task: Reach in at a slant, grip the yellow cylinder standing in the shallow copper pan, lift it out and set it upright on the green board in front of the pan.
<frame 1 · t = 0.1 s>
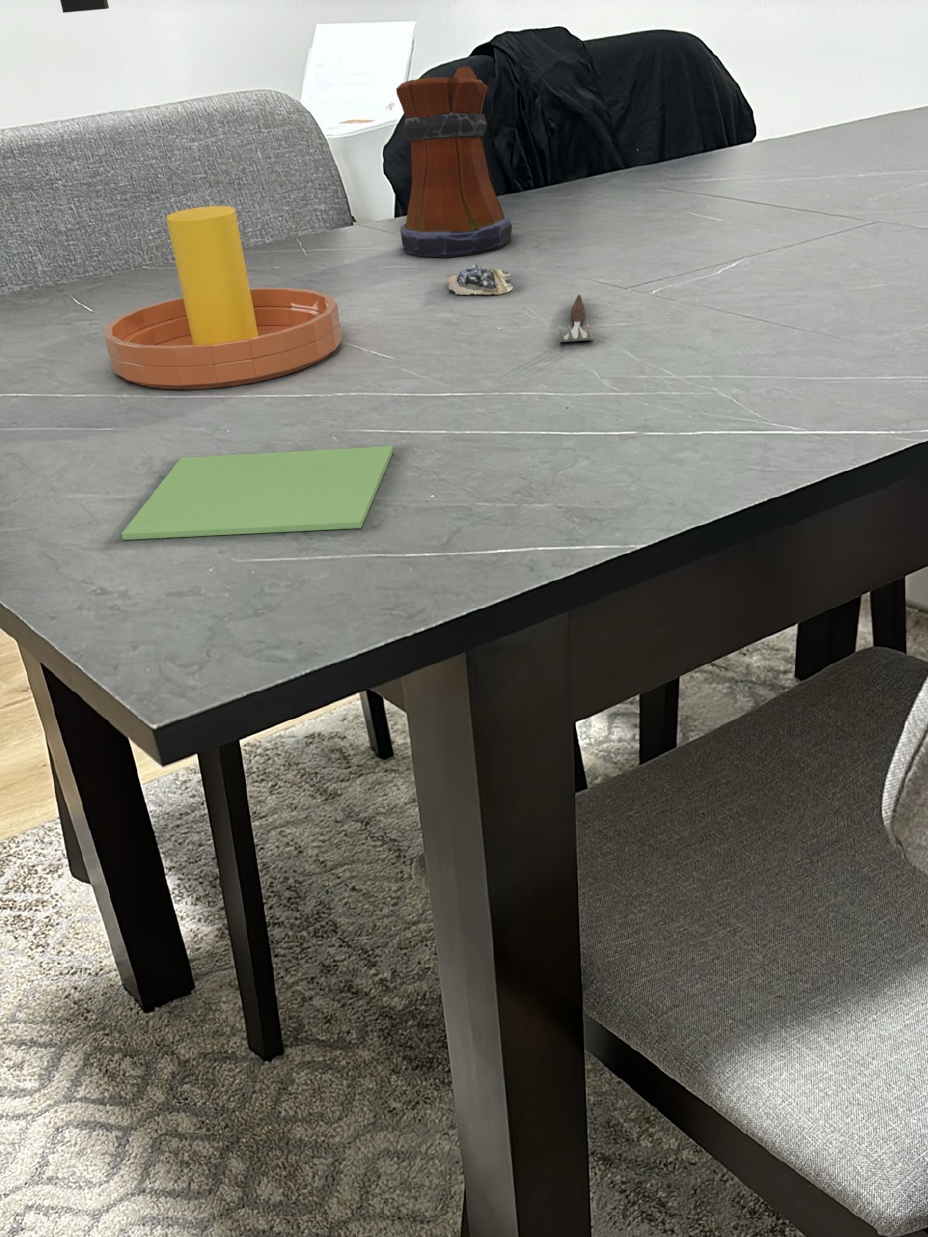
hand: (118, 3, 88), 24 cm above the table, tool pointing down, fingers open, 13 cm apart
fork: (577, 328, 107), on the table
yellow cylinder: (228, 351, 107), resting on pan
dark rock pile: (483, 289, 121), on the table
pan: (229, 357, 108), on the table
brown rook tower: (463, 241, 139), on the table
green board: (265, 493, 82), on the table
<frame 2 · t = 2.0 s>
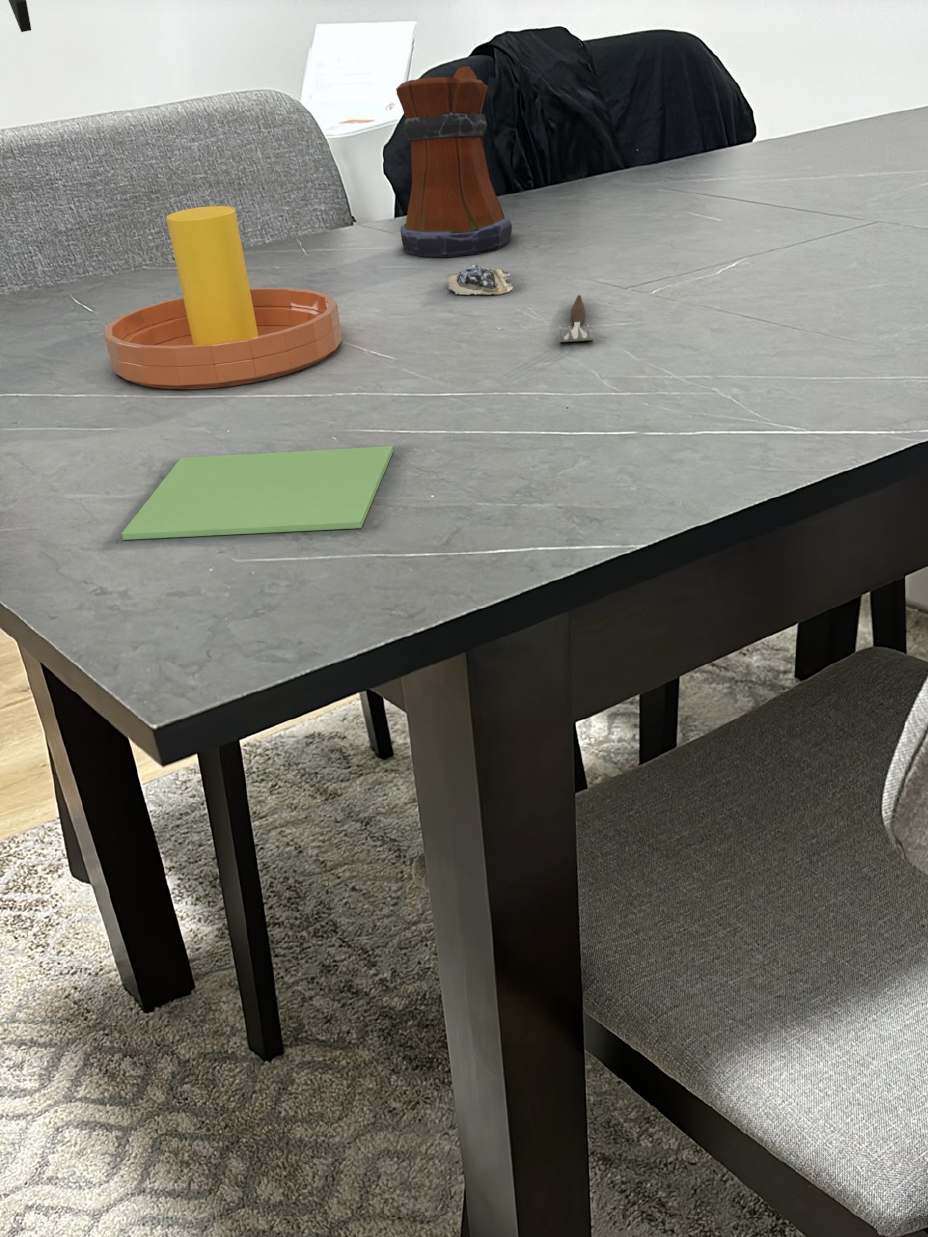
hand: (115, 0, 99), 24 cm above the table, tool tilted 45°, fingers open, 13 cm apart
nothing on the table moved.
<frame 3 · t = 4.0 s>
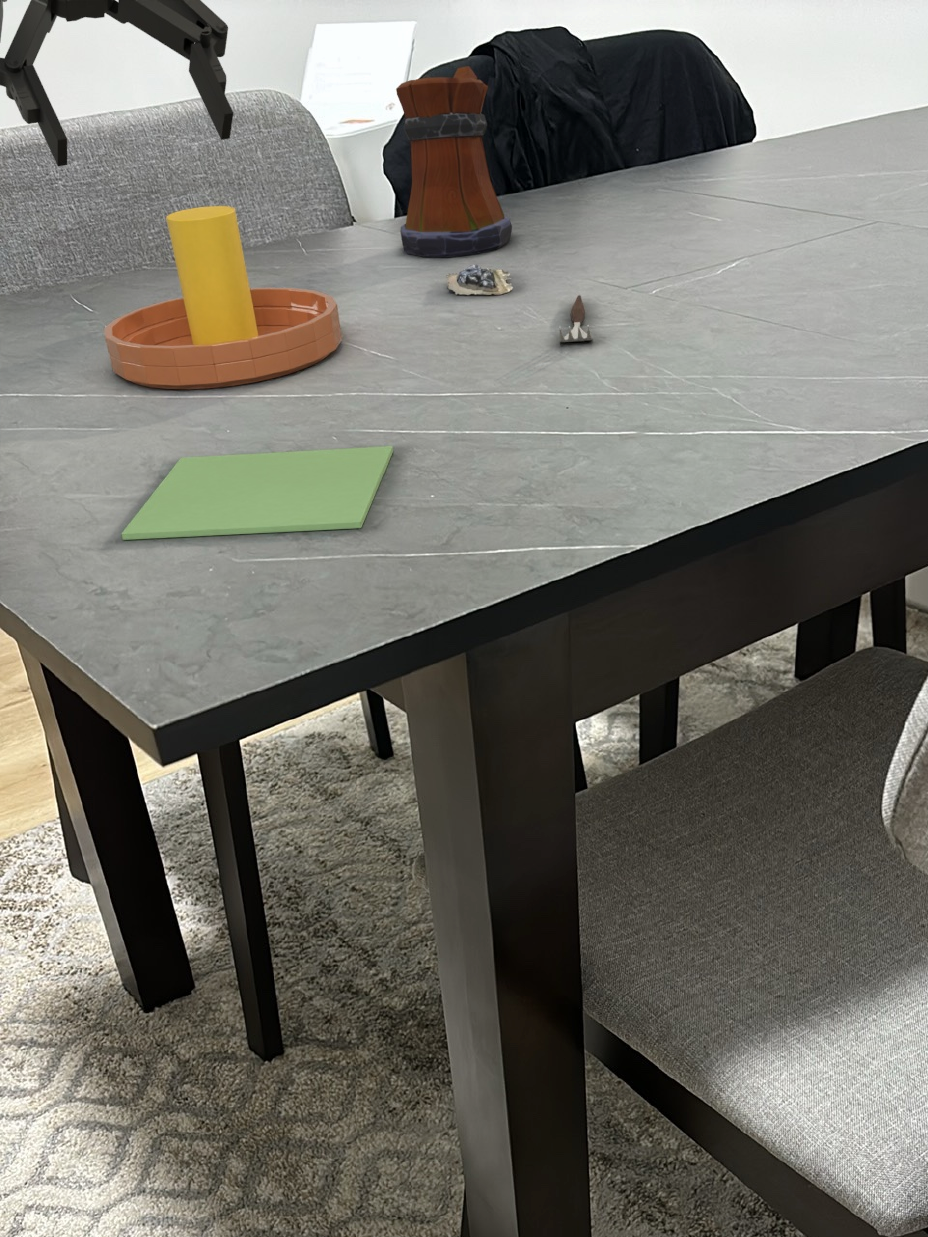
hand: (147, 139, 105), 15 cm above the table, tool tilted 45°, fingers open, 13 cm apart
nothing on the table moved.
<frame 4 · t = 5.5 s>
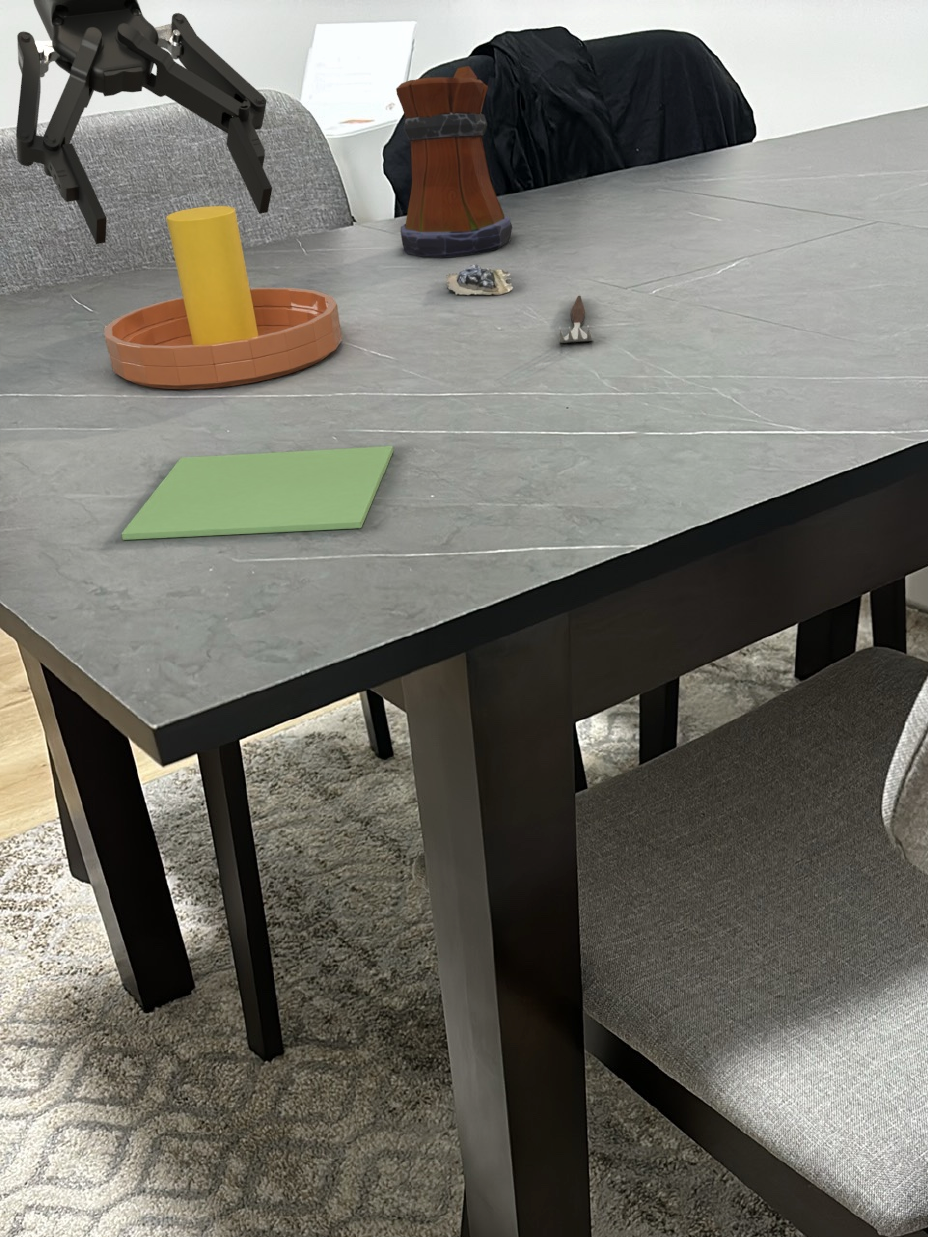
hand: (185, 216, 104), 10 cm above the table, tool tilted 45°, fingers open, 13 cm apart
nothing on the table moved.
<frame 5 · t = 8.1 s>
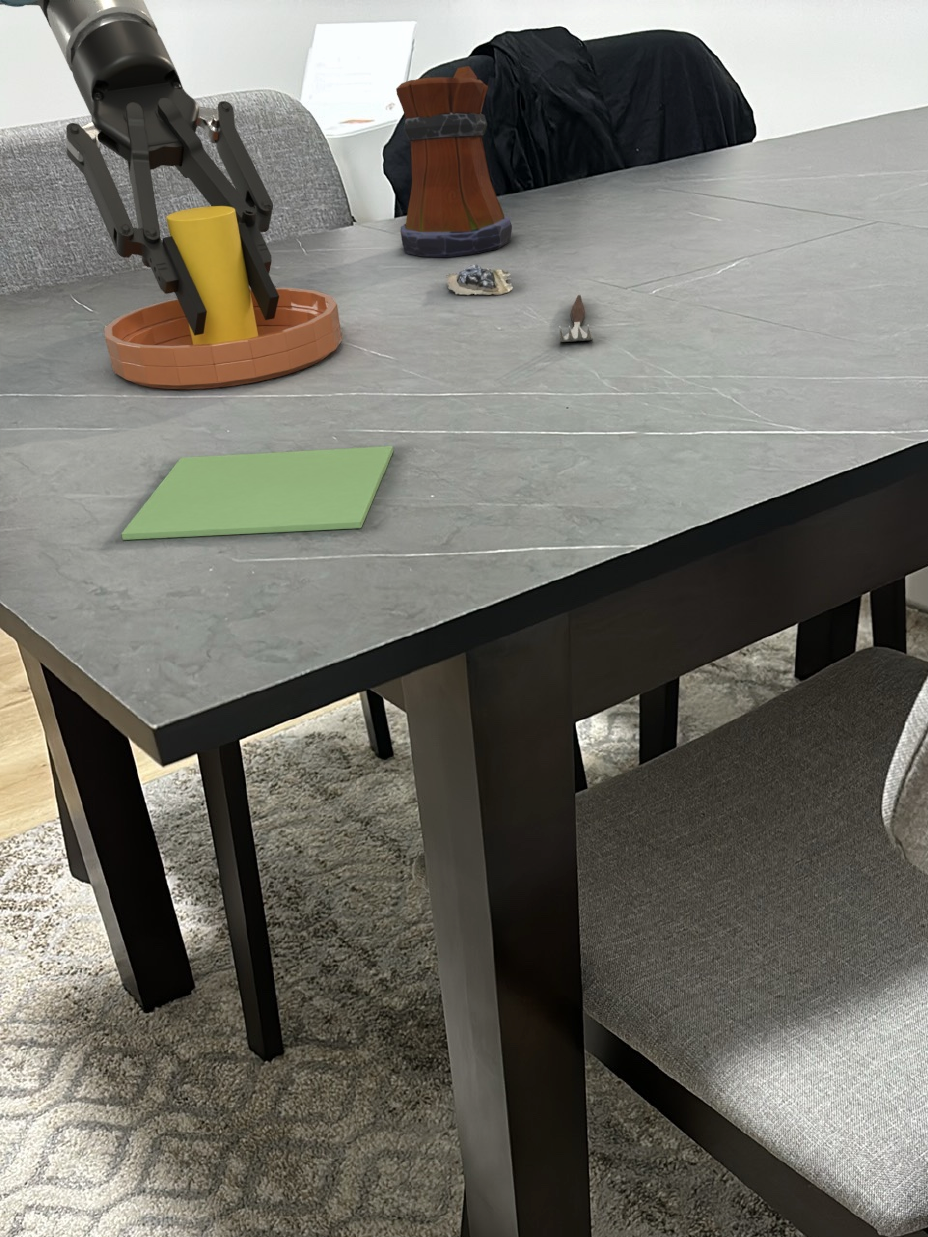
hand: (236, 315, 103), 4 cm above the table, tool tilted 45°, fingers closed on yellow cylinder, 5 cm apart
yellow cylinder: (228, 351, 107), point 1 cm above the table, touching gripper, pan
everything else where it was.
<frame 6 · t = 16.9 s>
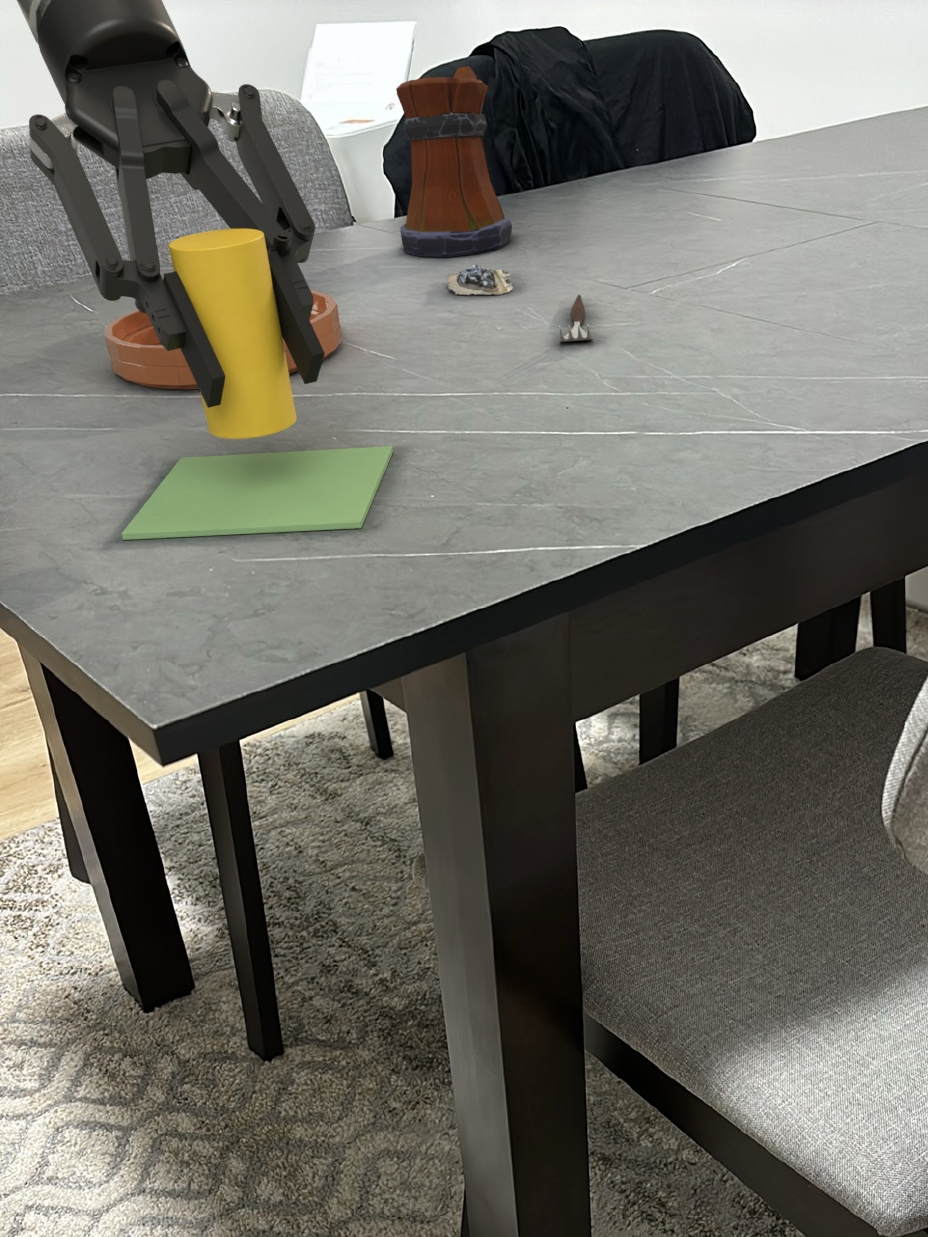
hand: (266, 379, 74), 7 cm above the table, tool tilted 45°, fingers closed on yellow cylinder, 5 cm apart
yellow cylinder: (252, 424, 79), point 4 cm above the table, touching gripper
everything else where it was.
when the fingers open (4 cm above the table, at t = 18.3 s): yellow cylinder stays where it is, resting on green board.
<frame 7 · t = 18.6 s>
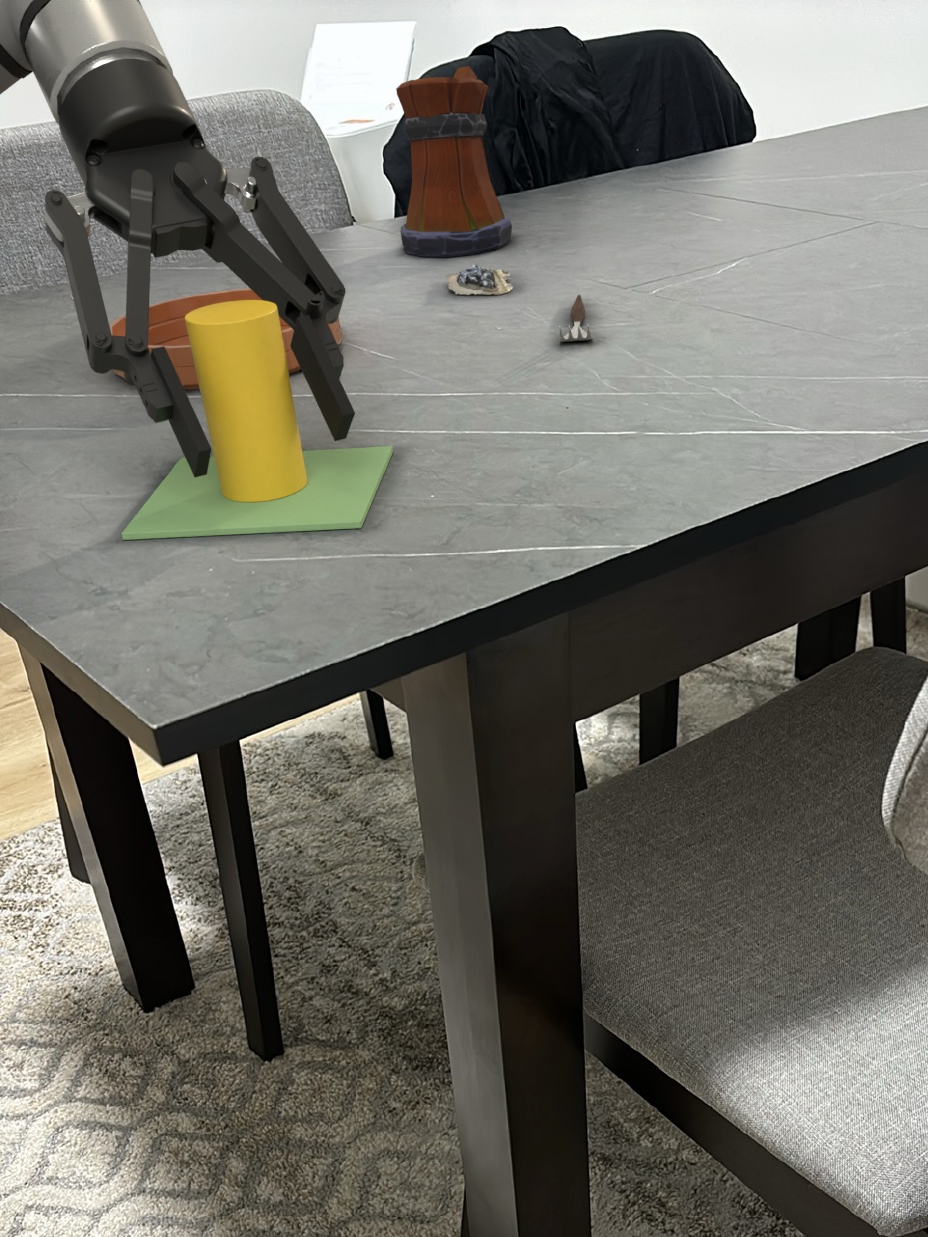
hand: (275, 444, 77), 4 cm above the table, tool tilted 45°, fingers open, 8 cm apart
yellow cylinder: (264, 486, 81), resting on green board
everything else where it was.
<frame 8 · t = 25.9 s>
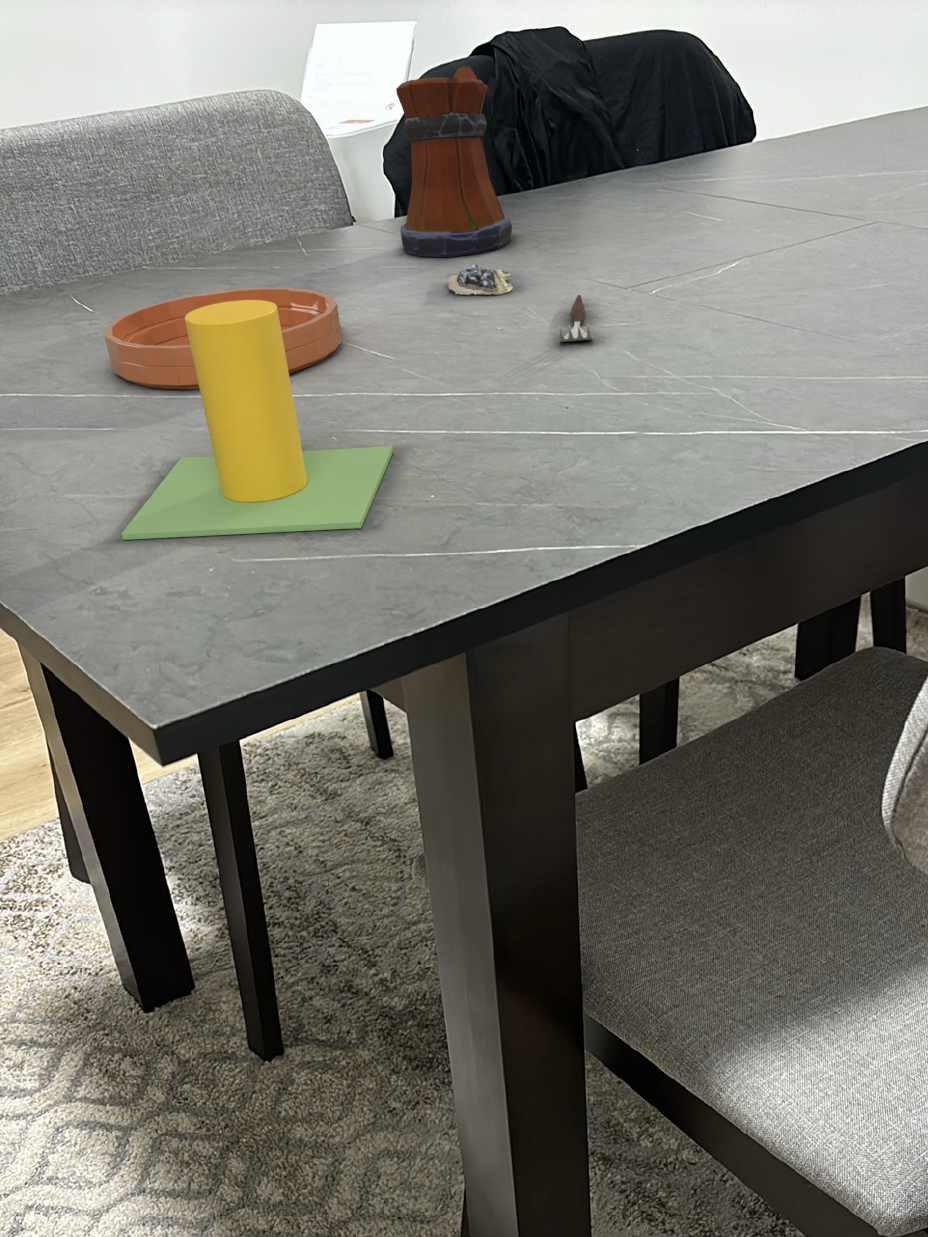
nothing on the table moved.
at the end: yellow cylinder inside the target area on the green board (0.0 cm from its centre), point 0.4 cm above the green board's base; yellow cylinder tilted 0°; the gripper is holding nothing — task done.
